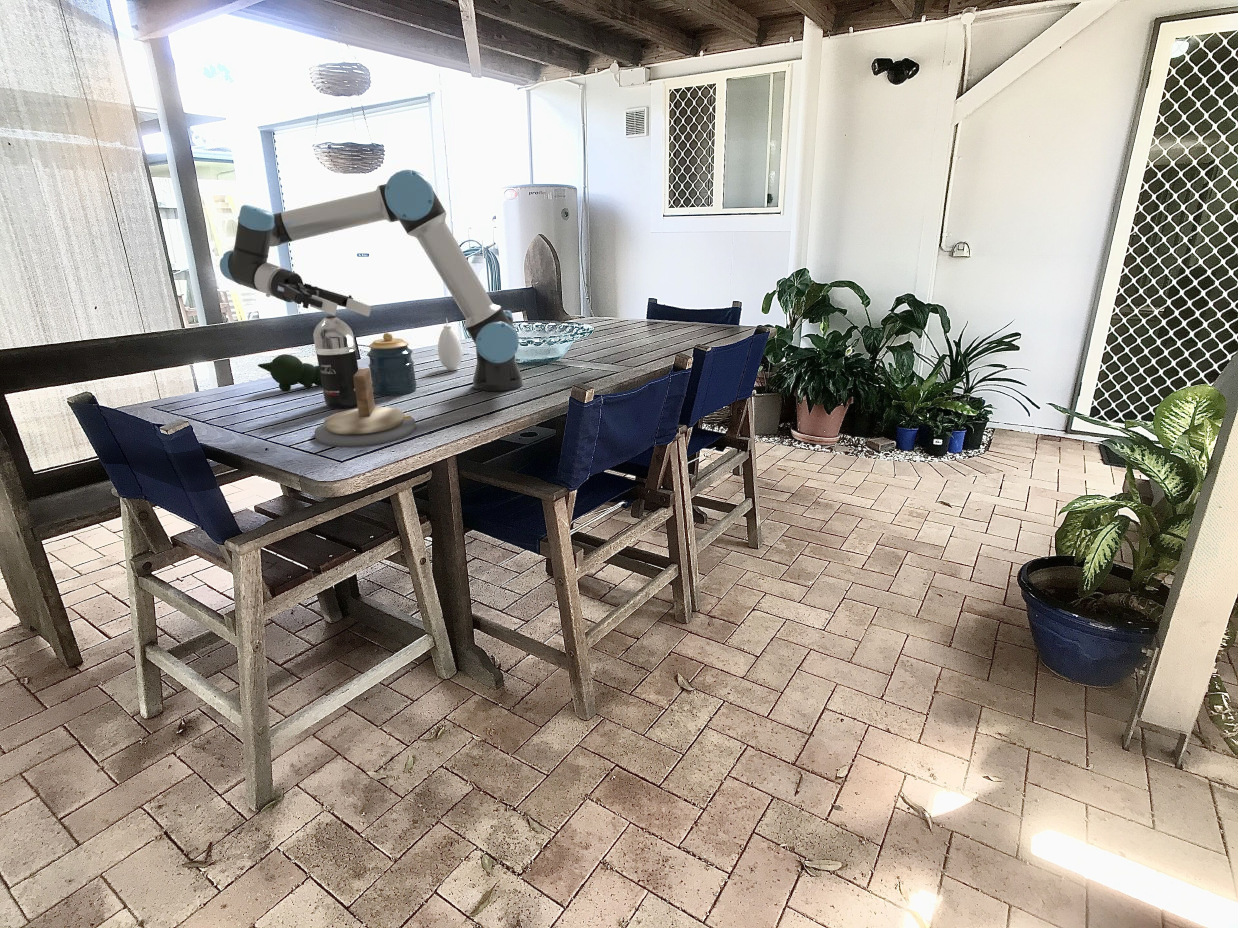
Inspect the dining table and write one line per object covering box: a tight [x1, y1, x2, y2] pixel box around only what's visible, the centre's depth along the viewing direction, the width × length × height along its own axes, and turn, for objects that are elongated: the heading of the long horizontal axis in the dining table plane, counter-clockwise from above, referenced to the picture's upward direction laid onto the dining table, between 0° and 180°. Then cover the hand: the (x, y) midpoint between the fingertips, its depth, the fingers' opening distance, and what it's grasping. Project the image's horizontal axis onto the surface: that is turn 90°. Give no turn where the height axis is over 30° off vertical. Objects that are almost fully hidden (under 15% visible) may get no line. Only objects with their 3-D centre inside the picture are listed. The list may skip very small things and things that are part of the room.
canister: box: [366, 332, 417, 396], centre depth 194 cm, size 13×13×18 cm
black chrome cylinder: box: [312, 314, 359, 410], centre depth 177 cm, size 10×10×25 cm
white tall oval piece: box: [437, 317, 463, 372], centre depth 221 cm, size 8×8×18 cm
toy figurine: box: [257, 353, 322, 392], centre depth 199 cm, size 9×19×25 cm
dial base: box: [314, 414, 417, 448], centre depth 157 cm, size 23×23×2 cm
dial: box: [323, 368, 405, 434], centre depth 155 cm, size 18×18×12 cm
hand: (353, 310), depth 159 cm, fingers open, 13 cm apart
